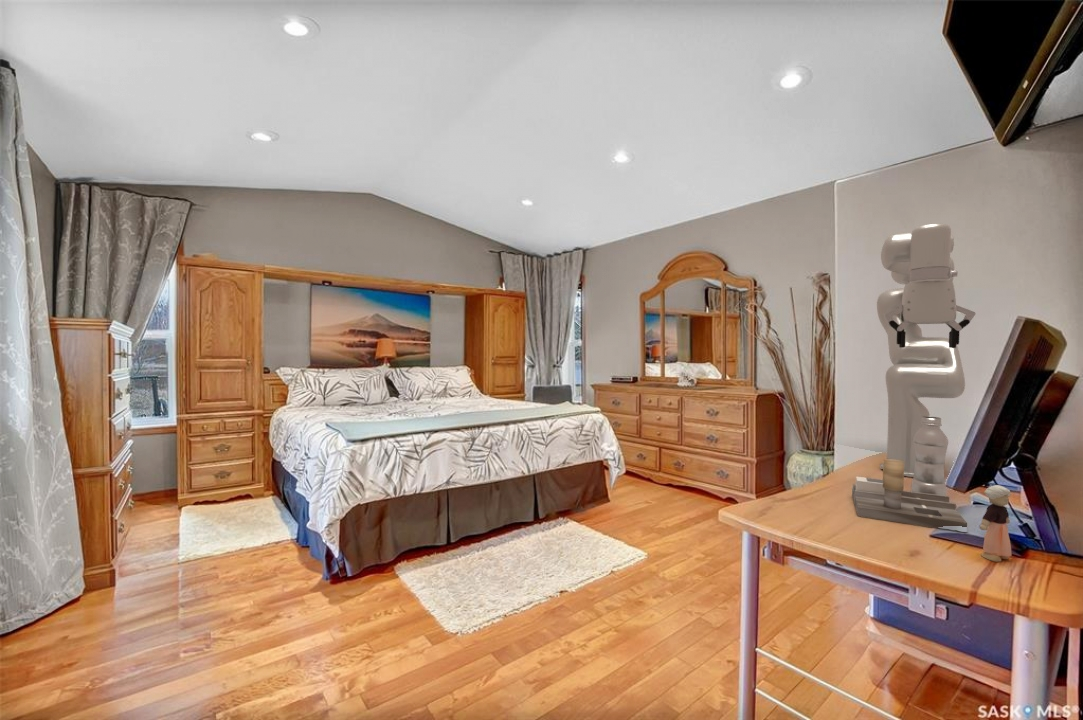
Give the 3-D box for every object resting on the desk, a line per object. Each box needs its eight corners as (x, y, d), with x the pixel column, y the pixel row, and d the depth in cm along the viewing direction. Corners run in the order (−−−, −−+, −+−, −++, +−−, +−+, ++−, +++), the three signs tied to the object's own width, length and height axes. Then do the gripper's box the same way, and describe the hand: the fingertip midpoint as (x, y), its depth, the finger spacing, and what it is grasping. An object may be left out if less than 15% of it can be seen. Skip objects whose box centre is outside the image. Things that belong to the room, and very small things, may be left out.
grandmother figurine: (1004, 566, 79) (1007, 492, 79) (974, 557, 83) (977, 486, 82) (1017, 555, 84) (1020, 484, 83) (988, 547, 87) (991, 479, 86)
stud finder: (855, 488, 114) (855, 475, 114) (886, 492, 111) (886, 479, 111) (857, 493, 110) (857, 480, 110) (888, 497, 107) (889, 483, 107)
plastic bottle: (932, 496, 116) (935, 415, 115) (953, 506, 109) (956, 420, 108) (904, 495, 116) (906, 414, 115) (923, 505, 110) (926, 419, 109)
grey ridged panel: (851, 495, 116) (852, 482, 116) (946, 508, 107) (946, 494, 107) (857, 516, 102) (858, 501, 102) (966, 532, 94) (967, 517, 93)
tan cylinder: (881, 502, 105) (882, 458, 105) (901, 505, 103) (902, 460, 103) (883, 507, 102) (884, 461, 102) (904, 510, 100) (905, 464, 100)
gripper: (971, 276, 114) (968, 348, 114) (883, 281, 122) (881, 347, 122) (981, 272, 107) (978, 348, 108) (887, 277, 115) (885, 347, 116)
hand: (926, 347), depth 115 cm, fingers open, 9 cm apart
